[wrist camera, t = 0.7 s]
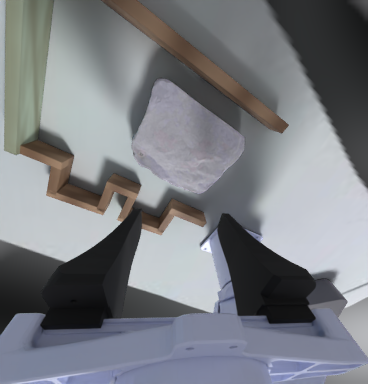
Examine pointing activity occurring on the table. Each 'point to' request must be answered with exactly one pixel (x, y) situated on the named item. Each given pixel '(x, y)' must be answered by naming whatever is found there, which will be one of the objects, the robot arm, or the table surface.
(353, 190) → the table surface
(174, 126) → the stone block
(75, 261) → the robot arm
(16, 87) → the trap lane
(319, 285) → the streaming box
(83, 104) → the table surface
